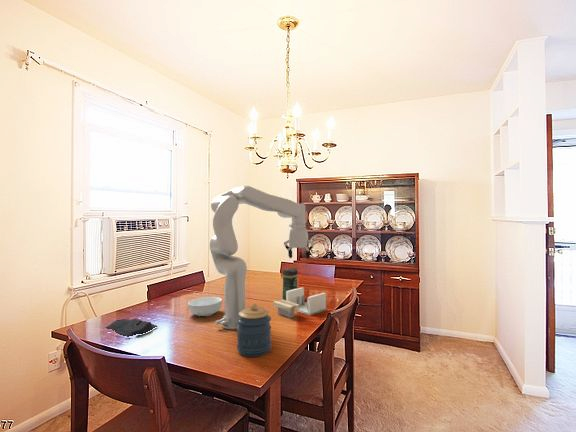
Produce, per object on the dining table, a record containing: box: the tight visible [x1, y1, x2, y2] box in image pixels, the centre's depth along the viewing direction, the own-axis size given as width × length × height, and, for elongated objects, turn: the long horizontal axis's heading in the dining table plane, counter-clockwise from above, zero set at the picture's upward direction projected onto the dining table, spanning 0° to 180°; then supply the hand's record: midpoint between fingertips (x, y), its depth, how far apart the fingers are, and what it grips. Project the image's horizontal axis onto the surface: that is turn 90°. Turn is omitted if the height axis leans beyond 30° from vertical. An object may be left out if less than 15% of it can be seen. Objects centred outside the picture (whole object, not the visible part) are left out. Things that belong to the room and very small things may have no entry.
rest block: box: [277, 308, 295, 319], centre depth 158 cm, size 3×9×4 cm, turn 41°
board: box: [272, 299, 299, 312], centre depth 158 cm, size 6×13×2 cm, turn 41°
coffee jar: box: [281, 267, 299, 300], centre depth 186 cm, size 10×8×19 cm
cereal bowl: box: [187, 296, 223, 317], centre depth 161 cm, size 17×17×7 cm
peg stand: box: [286, 286, 327, 316], centre depth 167 cm, size 12×18×9 cm, turn 41°
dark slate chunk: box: [104, 318, 158, 337], centre depth 141 cm, size 15×22×5 cm
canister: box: [236, 302, 272, 358], centre depth 119 cm, size 13×13×18 cm
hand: (299, 258), depth 170 cm, fingers open, 9 cm apart
